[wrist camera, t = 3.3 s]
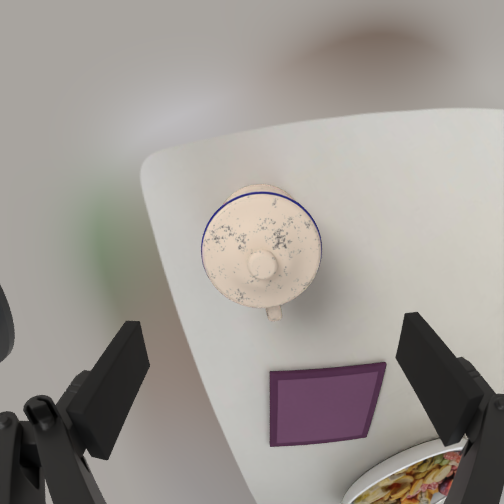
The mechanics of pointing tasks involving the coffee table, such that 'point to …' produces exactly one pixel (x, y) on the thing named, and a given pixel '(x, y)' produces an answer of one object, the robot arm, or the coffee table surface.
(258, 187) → the teacup with lid
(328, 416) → the place mat
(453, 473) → the bowl
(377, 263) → the coffee table surface
